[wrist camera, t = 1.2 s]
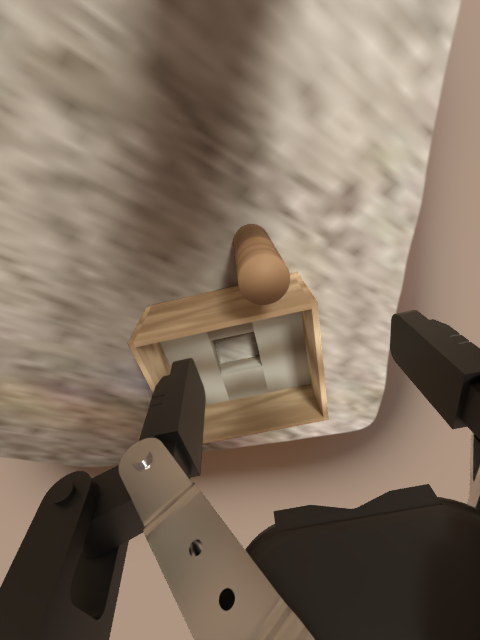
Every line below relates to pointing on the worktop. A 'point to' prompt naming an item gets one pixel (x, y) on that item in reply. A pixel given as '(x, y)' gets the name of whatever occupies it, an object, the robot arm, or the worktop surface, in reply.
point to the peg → (259, 266)
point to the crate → (243, 375)
